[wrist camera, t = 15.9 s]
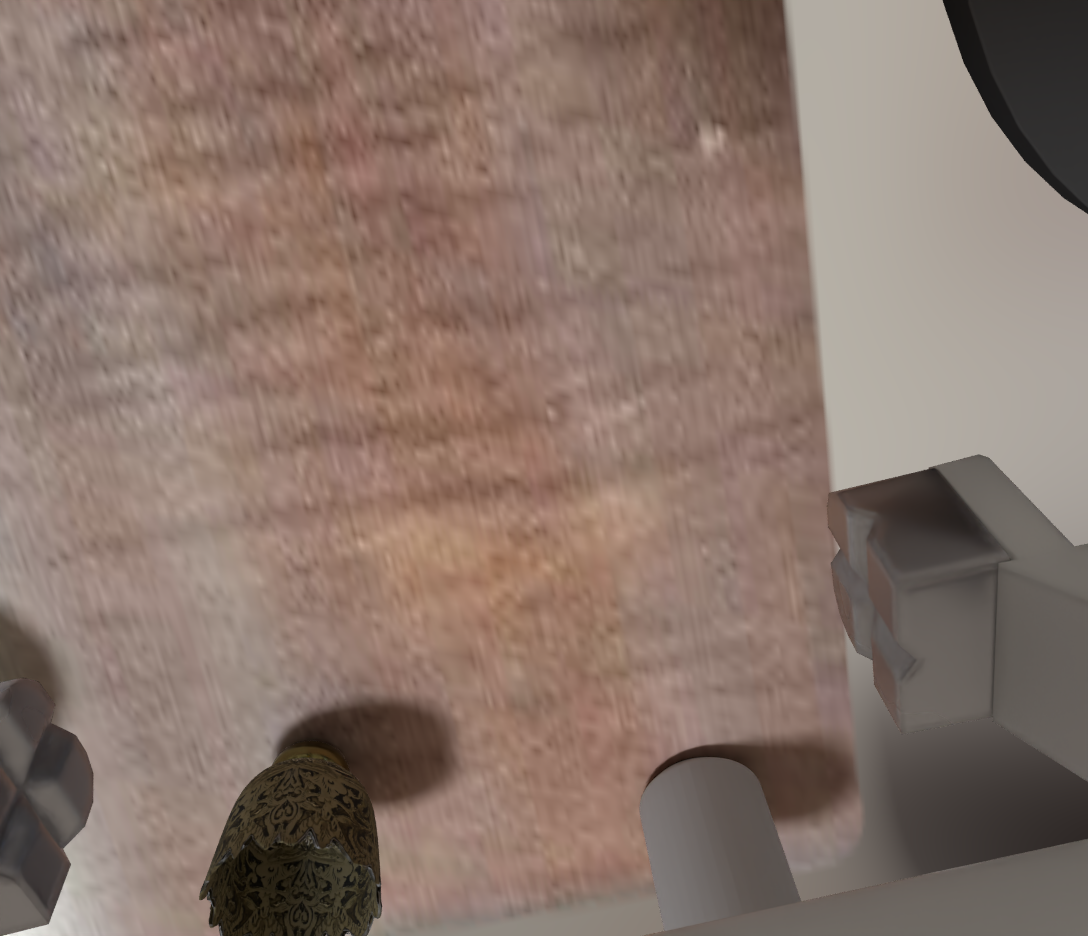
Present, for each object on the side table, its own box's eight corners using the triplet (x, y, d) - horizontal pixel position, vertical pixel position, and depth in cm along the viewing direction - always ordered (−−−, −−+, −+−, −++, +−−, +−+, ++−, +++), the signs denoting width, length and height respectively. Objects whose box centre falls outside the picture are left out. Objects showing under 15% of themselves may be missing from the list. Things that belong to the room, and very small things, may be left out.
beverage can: (746, 829, 54) (819, 1054, 44) (629, 833, 53) (675, 1062, 43) (767, 744, 51) (850, 966, 40) (643, 747, 50) (696, 973, 40)
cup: (223, 707, 46) (186, 853, 39) (385, 700, 47) (375, 843, 40) (243, 816, 50) (212, 967, 43) (392, 809, 51) (385, 956, 44)
